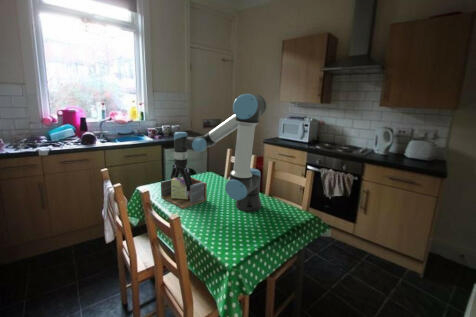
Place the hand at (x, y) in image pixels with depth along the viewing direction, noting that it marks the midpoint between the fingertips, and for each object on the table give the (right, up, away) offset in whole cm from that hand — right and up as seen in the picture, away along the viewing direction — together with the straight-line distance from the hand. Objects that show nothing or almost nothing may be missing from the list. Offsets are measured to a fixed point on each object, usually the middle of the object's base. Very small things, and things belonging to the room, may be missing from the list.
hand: (181, 193), depth 155 cm
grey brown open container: (+1, -4, +3) cm, 5 cm away
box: (0, -3, +1) cm, 3 cm away
